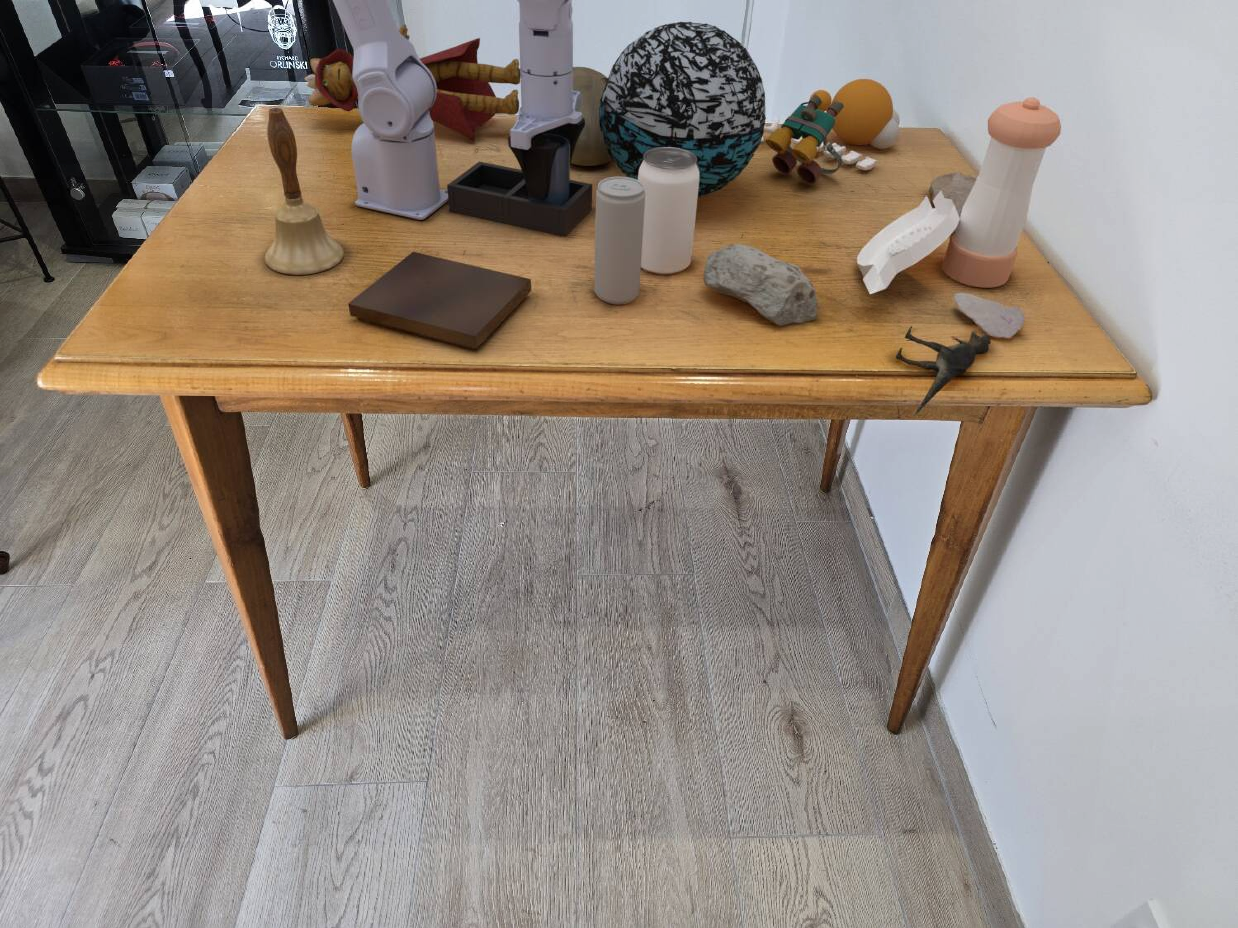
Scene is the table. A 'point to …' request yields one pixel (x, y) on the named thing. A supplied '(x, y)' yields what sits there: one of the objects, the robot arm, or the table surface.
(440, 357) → the table surface
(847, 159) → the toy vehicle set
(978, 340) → the dinosaur
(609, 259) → the beverage can
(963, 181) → the stone
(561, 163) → the tumbler
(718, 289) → the decorative stone
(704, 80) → the decorative sphere
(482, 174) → the rack
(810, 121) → the binoculars
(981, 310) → the stone
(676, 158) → the can
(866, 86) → the toy
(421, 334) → the shelf
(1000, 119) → the pepper shaker
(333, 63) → the figurine
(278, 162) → the hand bell
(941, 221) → the two-handled dish
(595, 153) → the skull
